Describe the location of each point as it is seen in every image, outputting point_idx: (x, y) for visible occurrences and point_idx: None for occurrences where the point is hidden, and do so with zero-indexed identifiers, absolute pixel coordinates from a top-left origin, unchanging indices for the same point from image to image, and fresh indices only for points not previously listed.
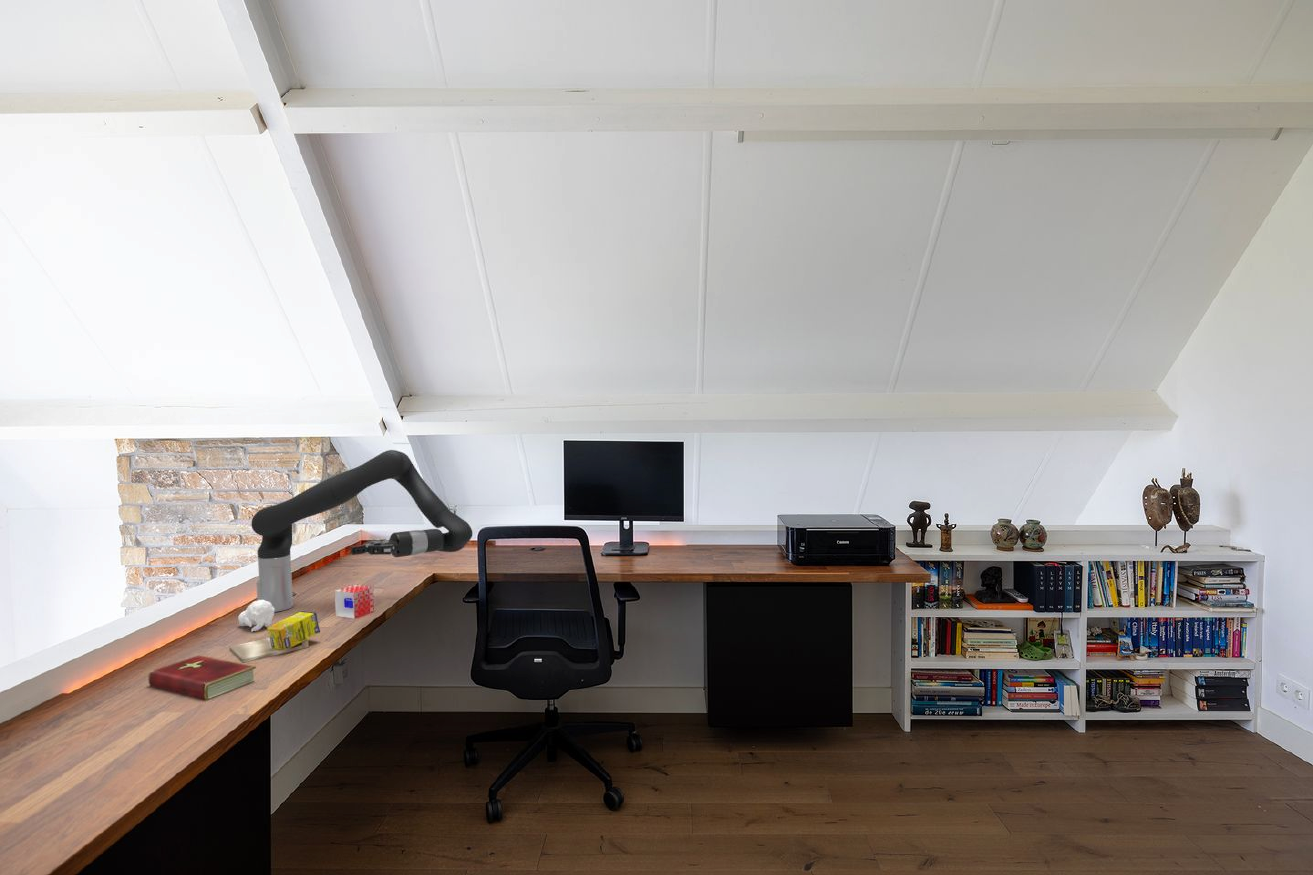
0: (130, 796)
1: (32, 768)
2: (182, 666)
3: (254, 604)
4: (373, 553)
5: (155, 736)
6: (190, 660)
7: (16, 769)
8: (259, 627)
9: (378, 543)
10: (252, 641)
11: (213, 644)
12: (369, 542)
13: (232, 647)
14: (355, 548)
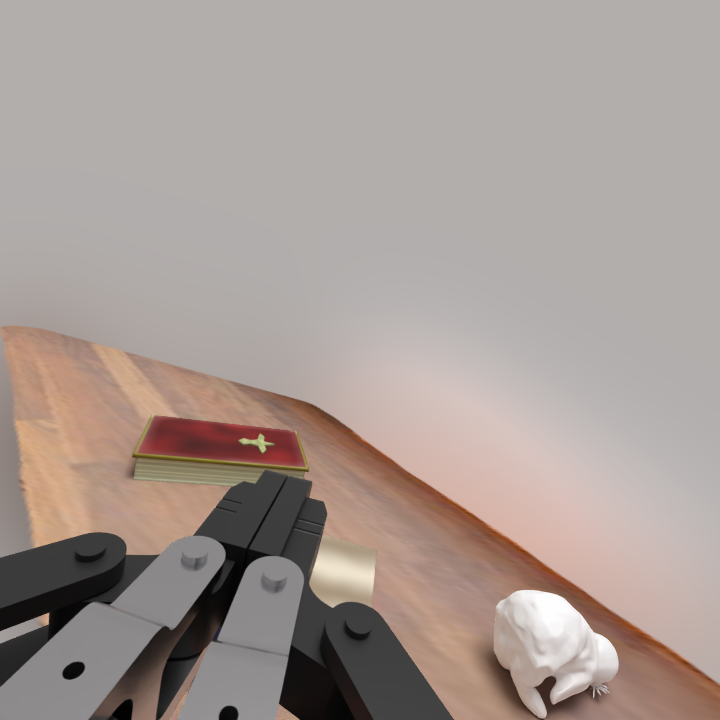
0: (22, 350)
1: (176, 370)
2: (272, 442)
3: (533, 590)
4: (41, 635)
5: (115, 392)
6: (290, 455)
7: (188, 370)
8: (497, 657)
9: (37, 669)
10: (372, 585)
11: (442, 563)
12: (371, 717)
13: (362, 548)
14: (250, 489)
